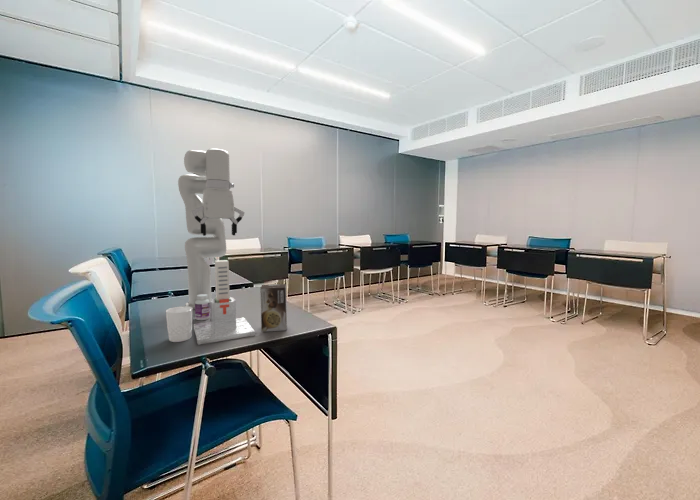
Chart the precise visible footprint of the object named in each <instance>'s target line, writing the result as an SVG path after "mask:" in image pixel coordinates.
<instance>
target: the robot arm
mask: <svg viewBox="0 0 700 500" xmlns="http://www.w3.org/2000/svg"><path fill="white" fill-rule="evenodd" d="M183 159H184V160H183V164H184V168H185V170H186V172H188V173H189V174H182V175H180V176H179V178H178V180H177V185H178V191H179V195H180V197H181V198H182V201H183V203H184V207H185V220H186V229H187V232H188V233H189V234H190V235H194V236H195V235H196V236H198V237H191V238H188V239H187V240H186V241H185V242H184V251H185V255H186V262H187V263H186V264H187V285H188V287H187V289H188V301H187V302H186V303H185V304H184V306H188V307H192V308H193V310H195V301H196V300H197V295H200V294H207V295H208V298H207V299H208V300H209V302H210V300H211V299H212V281H211V280H212V276H211V275H212V273H211V266H210V264H209V263H208V262H207V261H206V260H205V259H207V258H208V259H209V258H210V259H212V258H222V257H224V256H225V255H226V253H227V241H226V240H227V239H226V238H227V237H226V229H225V222H224V220H226V219H227V220H230V221H231V223H232V224H231V235H232V236H236V234H237V233H238V224H239V222H240V221H242V219H243V217H244V215H245V212H244V211H243V210H240V209H239V208H237V207H235V203H234V196H233V191H232V190H231V189H232V188H233V189H234V188H235V184H234V183H231V178H230V154H229V152H228V151H227V150H225V149H220V148H209V149H206V151H205V150H194V149H190V150H187V151H186V152H185V154H184V158H183ZM197 194H199V195H202V198H201V197H200V196H199V195H197ZM235 213H237V214H239V215H238V216H237V218H235ZM208 235H211V236H210V237H206V236H208ZM200 236H201V237H200ZM202 236H203V237H202ZM209 304H210V303H209Z"/></svg>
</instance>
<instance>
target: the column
mask: <svg viewBox="0 0 700 500" xmlns="http://www.w3.org/2000/svg"><path fill="white" fill-rule="evenodd" d="M229 265H230V263H229V260H227V259H221V260H220V259H219V260H214V276H215V277H214V279H215V280H214V281H215V297H214V298H215V300H216V303H218V302H219V299H229V301H230V297H231V296H230V266H229Z"/></svg>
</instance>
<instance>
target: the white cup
mask: <svg viewBox="0 0 700 500" xmlns="http://www.w3.org/2000/svg"><path fill="white" fill-rule="evenodd" d="M193 311H194V309H193V308H192V307H188V306H185V305H184V306H175V307H170V308H168V309H166V310H165V317H166V327H167V328H166V329H167V335H168V341H169V342H173V343H179V342H185V341H188V340H190V339H192V336H193V334H192V332H193V331H192V330H193Z"/></svg>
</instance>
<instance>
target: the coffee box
mask: <svg viewBox="0 0 700 500" xmlns="http://www.w3.org/2000/svg"><path fill="white" fill-rule="evenodd" d="M259 289H260V290H259V291H260V293H259V295H260V320H261V321H260V324H261V325H260V326H261V327H260V328H261V330H260V331H261V333H262V332H280V331H287V329H288V327H287V326H288V318H287V317H288V316H287V311H288V309H287V284H286V283H279V284H278V283H275V284H271V283H270V284H261V286H260V288H259Z"/></svg>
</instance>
